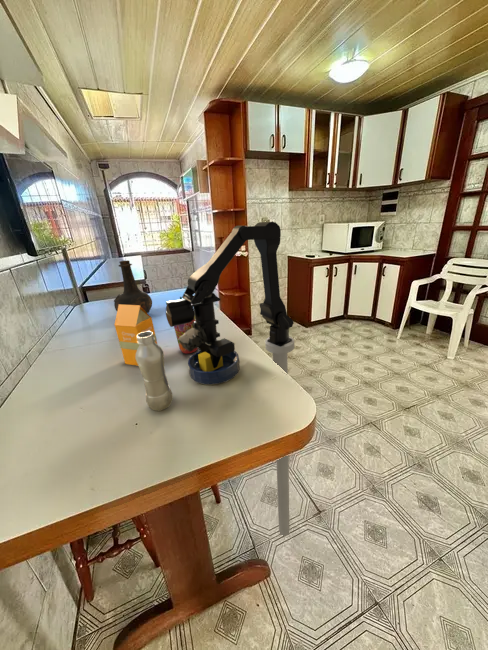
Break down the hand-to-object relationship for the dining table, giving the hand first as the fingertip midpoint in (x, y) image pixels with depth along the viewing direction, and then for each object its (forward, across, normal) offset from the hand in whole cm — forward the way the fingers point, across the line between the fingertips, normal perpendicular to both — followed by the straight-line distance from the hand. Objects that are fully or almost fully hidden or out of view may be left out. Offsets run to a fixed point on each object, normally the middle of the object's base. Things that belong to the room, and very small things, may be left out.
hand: (211, 365), depth 83 cm
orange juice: (+2, -23, -13) cm, 27 cm away
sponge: (+1, 0, 0) cm, 1 cm away
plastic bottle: (+2, +5, -19) cm, 20 cm away
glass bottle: (+2, -73, +3) cm, 73 cm away
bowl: (+2, +2, 0) cm, 2 cm away
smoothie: (+2, -17, +2) cm, 17 cm away
